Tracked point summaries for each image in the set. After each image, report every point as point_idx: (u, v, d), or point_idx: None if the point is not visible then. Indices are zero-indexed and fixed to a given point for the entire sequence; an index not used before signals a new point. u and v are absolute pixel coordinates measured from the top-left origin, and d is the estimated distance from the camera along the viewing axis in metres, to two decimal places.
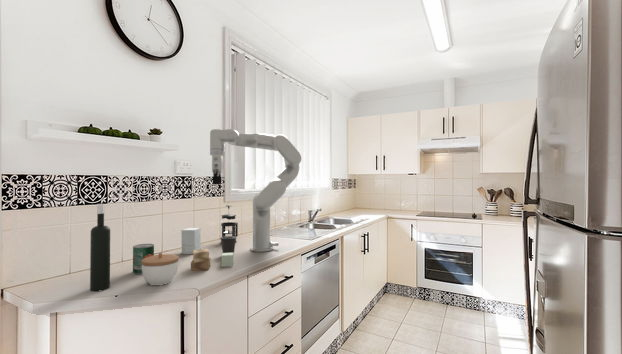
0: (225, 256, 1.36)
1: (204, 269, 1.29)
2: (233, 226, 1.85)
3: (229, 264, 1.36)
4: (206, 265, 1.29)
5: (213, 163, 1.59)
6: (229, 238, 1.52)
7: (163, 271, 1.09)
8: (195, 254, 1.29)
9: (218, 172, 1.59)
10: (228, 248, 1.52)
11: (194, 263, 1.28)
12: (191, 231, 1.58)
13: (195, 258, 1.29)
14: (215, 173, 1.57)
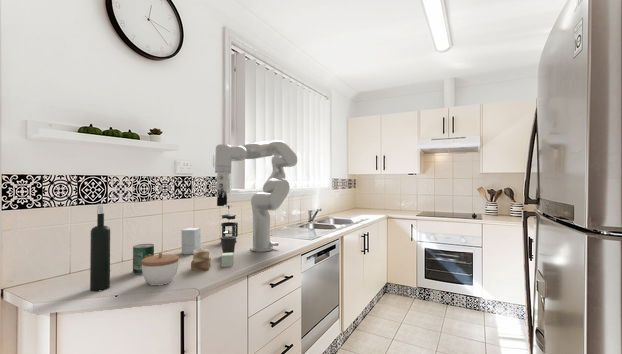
0: (225, 256, 1.36)
1: (204, 269, 1.29)
2: (233, 226, 1.85)
3: (229, 264, 1.36)
4: (206, 265, 1.29)
5: (218, 182, 1.42)
6: (229, 238, 1.52)
7: (163, 271, 1.09)
8: (195, 254, 1.28)
9: (223, 192, 1.42)
10: (228, 248, 1.52)
11: (194, 263, 1.28)
12: (191, 231, 1.58)
13: (195, 258, 1.28)
14: (220, 194, 1.40)
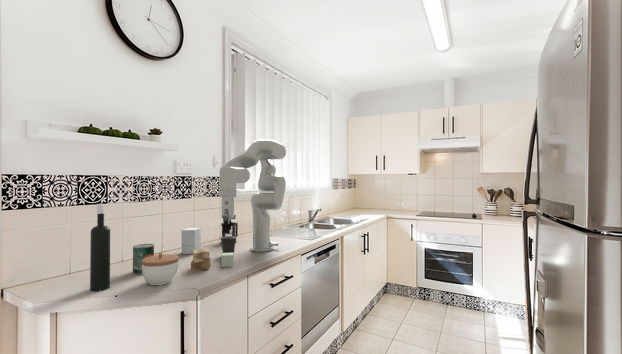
0: (225, 256, 1.36)
1: (204, 269, 1.29)
2: (233, 226, 1.85)
3: (229, 264, 1.36)
4: (206, 265, 1.29)
5: (223, 208, 1.33)
6: (229, 238, 1.52)
7: (163, 271, 1.09)
8: (196, 254, 1.28)
9: (229, 218, 1.33)
10: (228, 248, 1.52)
11: (194, 263, 1.28)
12: (191, 231, 1.58)
13: (196, 258, 1.28)
14: (225, 220, 1.31)
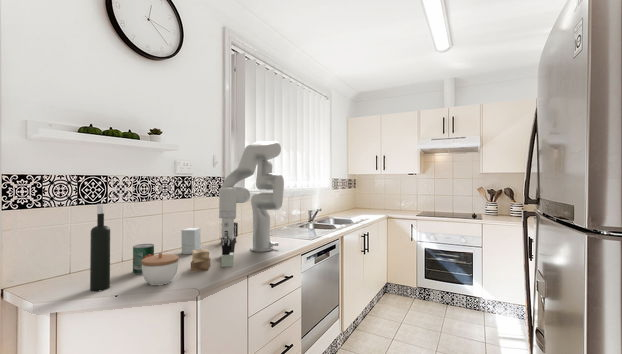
0: (225, 256, 1.36)
1: (204, 269, 1.29)
2: None
3: (229, 264, 1.36)
4: (206, 265, 1.29)
5: (223, 229, 1.33)
6: None
7: (163, 271, 1.09)
8: (195, 254, 1.28)
9: (229, 240, 1.33)
10: None
11: (194, 263, 1.28)
12: (191, 231, 1.58)
13: (195, 258, 1.28)
14: (225, 243, 1.31)
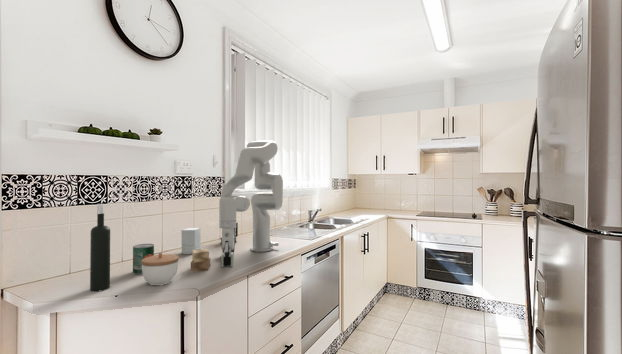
0: None
1: (204, 269, 1.29)
2: None
3: None
4: (206, 265, 1.29)
5: (223, 240, 1.33)
6: None
7: (163, 271, 1.09)
8: (195, 254, 1.29)
9: None
10: None
11: (194, 263, 1.29)
12: (191, 231, 1.58)
13: (195, 258, 1.29)
14: (226, 254, 1.33)
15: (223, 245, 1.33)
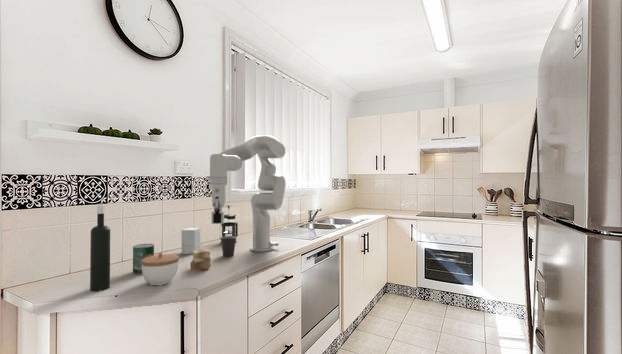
0: None
1: (204, 269, 1.29)
2: (233, 226, 1.85)
3: None
4: (206, 265, 1.29)
5: (214, 195, 1.31)
6: (229, 238, 1.52)
7: (163, 271, 1.09)
8: (196, 254, 1.29)
9: (220, 208, 1.33)
10: (228, 248, 1.52)
11: (194, 263, 1.29)
12: (191, 231, 1.58)
13: (196, 258, 1.29)
14: (217, 210, 1.31)
15: (213, 201, 1.31)
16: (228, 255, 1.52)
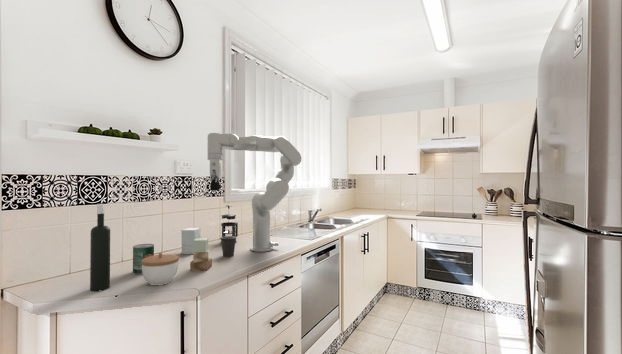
0: (197, 241, 1.30)
1: (203, 269, 1.29)
2: (233, 226, 1.85)
3: (202, 250, 1.30)
4: (205, 265, 1.29)
5: (211, 168, 1.52)
6: (229, 238, 1.52)
7: (163, 271, 1.09)
8: (194, 254, 1.28)
9: (216, 178, 1.52)
10: (228, 248, 1.52)
11: (193, 263, 1.29)
12: (191, 231, 1.58)
13: (194, 258, 1.28)
14: (213, 179, 1.50)
15: (210, 173, 1.52)
16: (228, 255, 1.52)
